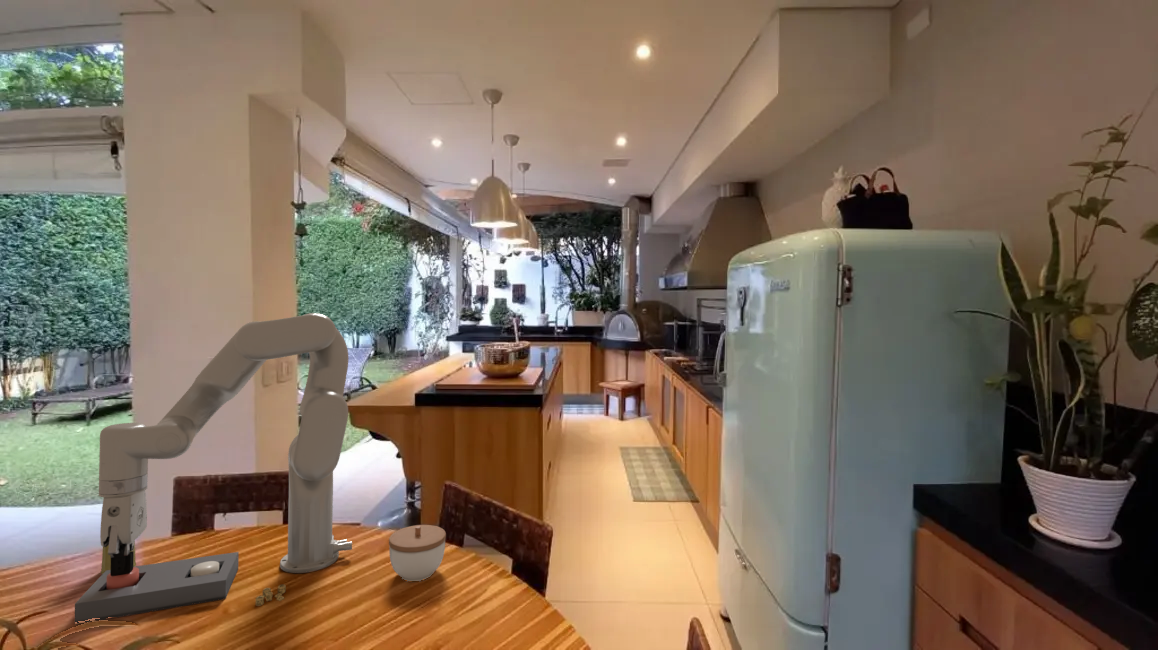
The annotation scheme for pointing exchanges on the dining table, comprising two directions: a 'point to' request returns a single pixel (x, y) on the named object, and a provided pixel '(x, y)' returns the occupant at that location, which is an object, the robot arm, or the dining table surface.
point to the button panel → (159, 589)
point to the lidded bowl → (417, 551)
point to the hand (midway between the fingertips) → (121, 573)
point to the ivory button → (205, 568)
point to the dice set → (271, 595)
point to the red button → (123, 580)
